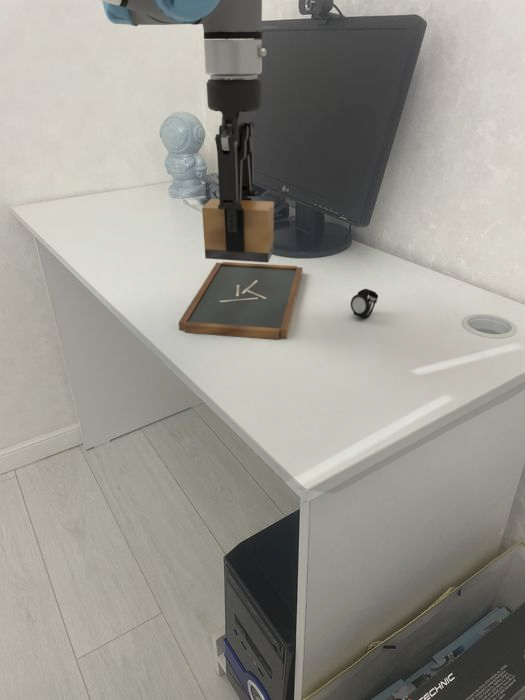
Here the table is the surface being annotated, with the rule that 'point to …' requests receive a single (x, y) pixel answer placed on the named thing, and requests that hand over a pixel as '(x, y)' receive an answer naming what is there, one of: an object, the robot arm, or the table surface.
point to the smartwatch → (363, 303)
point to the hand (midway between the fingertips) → (239, 244)
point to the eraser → (255, 231)
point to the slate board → (244, 301)
